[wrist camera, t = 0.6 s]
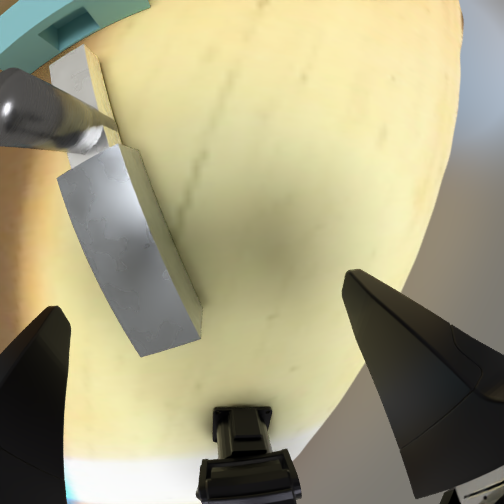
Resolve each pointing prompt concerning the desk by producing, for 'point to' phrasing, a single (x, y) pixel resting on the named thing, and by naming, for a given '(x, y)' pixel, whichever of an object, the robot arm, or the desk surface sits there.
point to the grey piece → (59, 108)
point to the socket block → (54, 27)
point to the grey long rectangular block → (132, 250)
